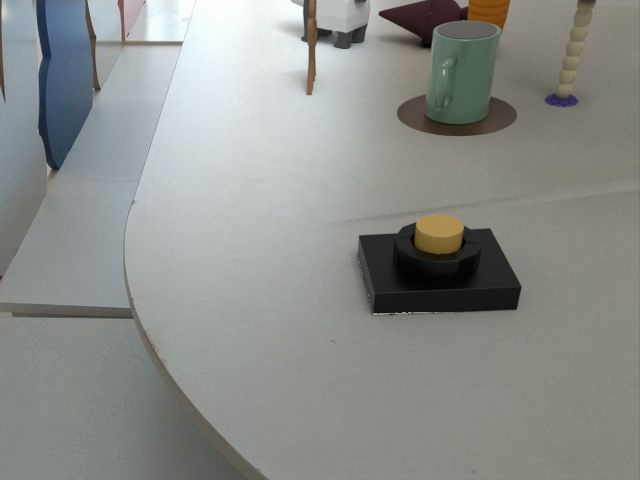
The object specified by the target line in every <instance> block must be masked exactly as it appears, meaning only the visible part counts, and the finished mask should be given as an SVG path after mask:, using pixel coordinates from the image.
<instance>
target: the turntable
mask: <svg viewBox="0 0 640 480" xmlns="http://www.w3.org/2000/svg"><path fill="white" fill-rule="evenodd" d="M425 101H426V94H424V95H419V96H416V97H414V98H410V99H408V100H406V101H405V102H403V103H402V104H401V105H400V106H399V107H398V109H397V111H396V116H397V118H398V120H399V121H400V122H401V123H402V124H404V125H405V126H407V127H409V128H411V129H413V130H415V131H419V132H421V133H426V134H432V135H438V136H446V137H472V136H481V135H487V134H492V133H495V132H498V131H501V130H504V129H506V128H508V127H510V126H511V125H512V124H513V123H514V122H515V121H516V119H517V115H518V113H517V111H516V109H515V108H514V107H513V106H512V105H511V104H510V103H508V102H505V100H501V99H499V98H496V97H494V96H491V97H490V104H489V110H488V115H487V116H486V117H485V118H484V119H482V120H480V121H477V122H474V123H468V124H446V123H441V122H437V121H434V120H431V119H430V118H428V117H427V116H426V115H425V113H424V110H425Z"/></svg>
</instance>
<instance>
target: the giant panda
mask: <svg viewBox="0 0 640 480" xmlns="http://www.w3.org/2000/svg"><path fill="white" fill-rule="evenodd" d="M289 1H290V2H291V3H292V4H295V5H297V6H299V7H302V19H303V36H301V38H300V40H301V41H303V42H307V43H308V41H307V25H308V18H309V3H310V0H289ZM370 14H371V0H316V20H317V41H318V40H319V35H320V36H326V37H328V36H331V35H332V34H333V31H334V32H336V35H337V39H336V41H335V42H334V43H333V47H336V48H340V49H349V48H351V46H352V42H353V43H362V42H364V41H365V36H366V32H367V28H368V25H369V20H370V16H371V15H370Z"/></svg>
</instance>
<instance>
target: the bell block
mask: <svg viewBox="0 0 640 480" xmlns="http://www.w3.org/2000/svg"><path fill="white" fill-rule="evenodd" d="M416 223H417V221H415V222H411V223H409V224H407V225H405V226H402V227H401V228H400V230H399V231H398V232H393V233H374V234H359V235H358V242H357V243H358V245H357V259H358V258H359V260H358V262H359V261H360V264H359V266H360V265H361V268H360V270H361V269H362V272H363V275H362V277H363V276H364V279H363V281H364V280H365V283H366V287H367V291H368V294H369V299H370V302H369V304H370V303H371V306H370V308H371V307H372V310H371V312H372V311H373V313H378V314H379V313H396V312H397V313H402V312H406V313H408V312H412V313H413V312H433V313H432V314H435V313H434V312H454V313H473V312H474V313H477V312H493V311H494V312H497V311H499V312H501V311H517V310H518V307H519V306H518V305H519V302H520V298H521V297H520V296H521V292H522V288H523V287H522V285H521V283H520V280H519V279H518V277H517V275H516V273H515V271H514V269H513V268H512V266H511V264H510V262H509V260H508V258H507V256H506V255H505V252H504V251H503V249H502V247H501V245H500V244H499V242H498V240H497V238H496V235H495V234H494V232H493V230H492V229H491V228H490V227H489V228H487V227H485V228H470V227H467V226H466V225H464V231H463V237H462V243H461V248H460V249H459V250H458V251H455V252H453V253H448V254H434V253H430V252H425V251H421V250H420V249H418V248H416V247H415V245H414V238H415V229H416ZM362 272H361V273H362ZM365 283H364V284H365ZM366 287H365V288H366ZM367 291H366V292H367ZM369 299H368V300H369Z"/></svg>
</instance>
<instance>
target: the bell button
mask: <svg viewBox="0 0 640 480" xmlns="http://www.w3.org/2000/svg"><path fill="white" fill-rule="evenodd" d="M416 222H417V223H416V229H415V238H414V245H415V247H416V248H418V249H420V250H421V251H425V252H430V253H434V254H448V253H453V252H455V251H458V250H459V249H460V248H461V243H462V237H463V231H464V226H465V225H464V223H463V222H462V220H460V219H459V218H457V217H455V216H451V215H448V214H439V213H438V214H435V213H434V214H428V215H425V216H422V217H420V218H419V219H418V220H417V221H416Z"/></svg>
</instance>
